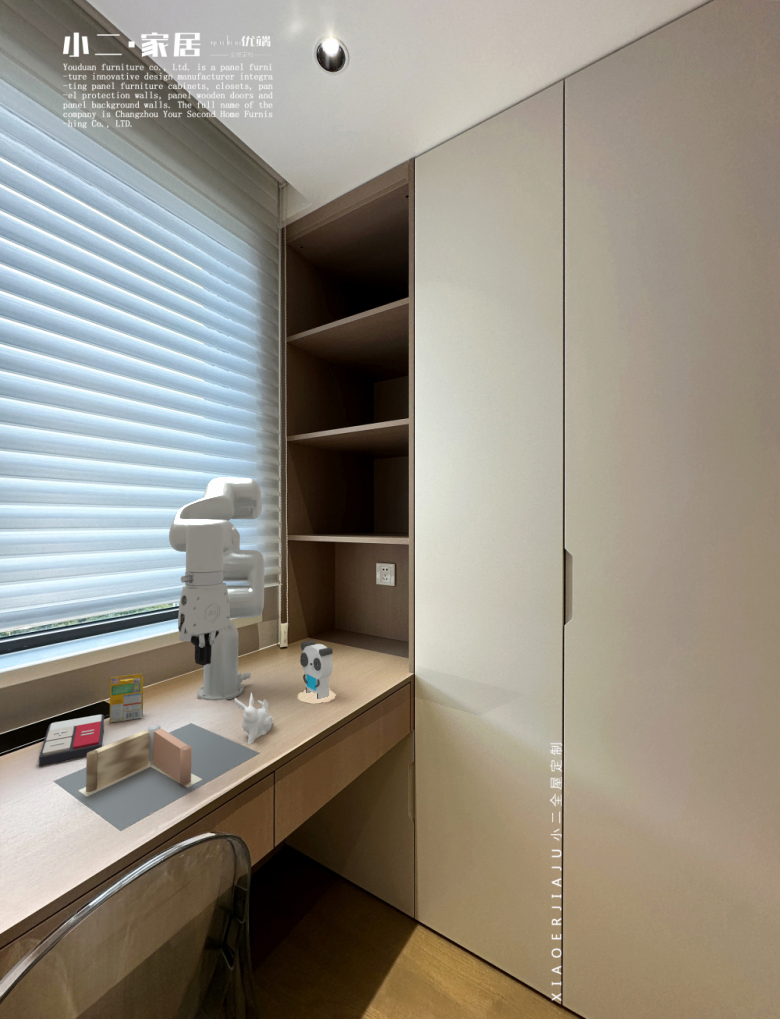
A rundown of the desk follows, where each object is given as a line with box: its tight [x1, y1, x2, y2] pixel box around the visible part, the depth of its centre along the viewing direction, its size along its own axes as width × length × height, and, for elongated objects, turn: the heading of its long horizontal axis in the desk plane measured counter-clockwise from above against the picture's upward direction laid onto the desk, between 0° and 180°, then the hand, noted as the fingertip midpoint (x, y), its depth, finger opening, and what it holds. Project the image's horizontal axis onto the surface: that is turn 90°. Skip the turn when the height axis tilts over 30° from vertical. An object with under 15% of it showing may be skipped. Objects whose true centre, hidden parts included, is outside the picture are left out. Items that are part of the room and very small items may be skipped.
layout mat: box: [53, 722, 260, 832], centre depth 96 cm, size 30×25×1 cm
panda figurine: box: [299, 640, 334, 699], centre depth 136 cm, size 12×11×15 cm
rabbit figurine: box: [234, 692, 274, 745], centre depth 112 cm, size 12×8×10 cm, turn 158°
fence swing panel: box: [147, 724, 192, 785], centre depth 94 cm, size 15×2×7 cm, turn 52°
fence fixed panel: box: [85, 729, 149, 792], centre depth 92 cm, size 12×2×7 cm, turn 147°
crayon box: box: [109, 672, 144, 724], centre depth 119 cm, size 7×3×12 cm, turn 115°
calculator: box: [38, 714, 105, 767], centre depth 105 cm, size 11×4×15 cm
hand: (202, 663), depth 100 cm, fingers closed
